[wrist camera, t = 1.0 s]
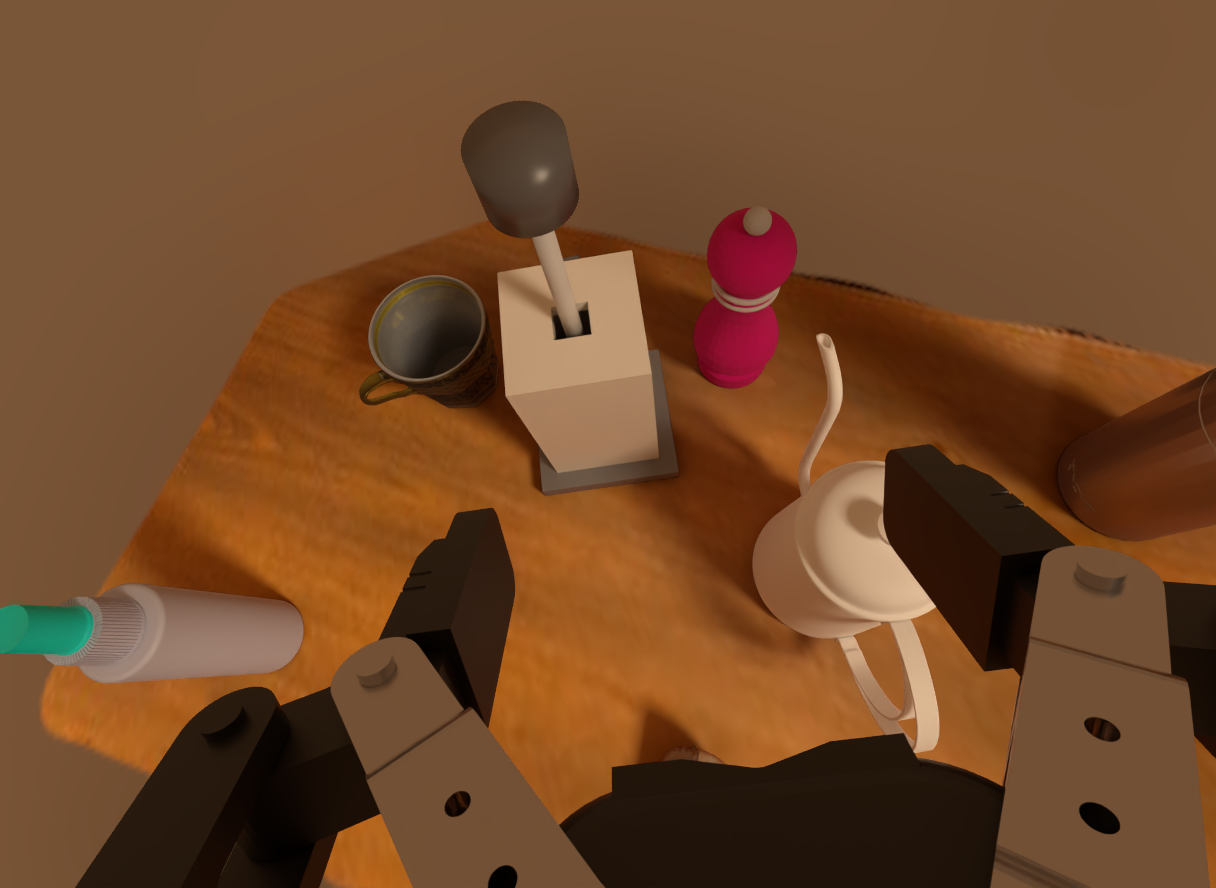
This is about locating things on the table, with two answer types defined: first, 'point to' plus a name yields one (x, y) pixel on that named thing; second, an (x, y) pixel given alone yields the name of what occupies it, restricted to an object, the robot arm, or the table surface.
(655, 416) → the dispenser
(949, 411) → the table surface
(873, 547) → the coffeepot
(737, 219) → the pepper mill
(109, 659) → the spray bottle
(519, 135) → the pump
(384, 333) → the ceramic cup
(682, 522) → the table surface
